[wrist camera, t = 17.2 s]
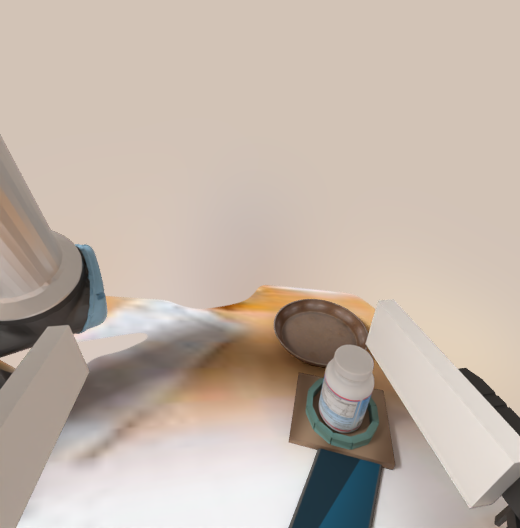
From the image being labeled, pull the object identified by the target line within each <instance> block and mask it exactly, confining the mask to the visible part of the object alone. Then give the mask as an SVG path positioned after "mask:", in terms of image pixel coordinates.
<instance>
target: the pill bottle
mask: <svg viewBox="0 0 520 528" xmlns="http://www.w3.org/2000/svg"><path fill="white" fill-rule="evenodd" d="M373 367H374V362H373V359H372V357H371V355H370V354H369V353H368V352H367V351H366V350H364V349H363V348H361V347H359V346H355V345H343V346H341V347H339V348H338V349H337V350H336V352H335V355H334V358H333V359H332V360H331V361H330V362H329V363H328V365H327V367H326V370H325V375H324V380H323V385H322V390H321V395H320V400H319V412H320V415H321V417H322V419H323V420H324V421H325V423H326V424H327V425H328V426H329V427H330V428H332V429H333V430H335V431H337V432H341V433H351V432H354V431H356V430H357V429H358V428H359V427H360V425H361V423H362V421H363V418H364V415H365V412H366V409H367V406H368V403H369V400H370V397H371V394H372V391H373V388H374V377H373V374H372V371H373Z"/></svg>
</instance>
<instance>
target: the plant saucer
mask: <svg viewBox="0 0 520 528" xmlns="http://www.w3.org/2000/svg"><path fill="white" fill-rule="evenodd" d="M274 331H275V334H276V336H277V338H278V340H279V341H280V343H281V344H282V345H283V347H284V348H285V349H286V350H287V351H288V352H289V353H291V354H292V355H293V356H295V357H296V358H298V359H299V360H301V361H303V362H305V363H308V364H311V365H314V366H319V367H327V365H328V363H329V362H330V361H331V360H332V359H333V358H334V355H335V352H336V350H337V349H338V348H339V347H341V346H343V345H355V346H359V347H361V348H363V349H364V350H367V345H366V340H367V337H368V332H367V329H366V327H365V326H364V324H363V323H362V321H361V320H360V319H359V318H358V317H357V316H356V315H355V314H353V313H352V312H350V311H349V310H348V309H346V308H344V307H342V306H340V305H338V304H335V303H332V302H329V301H324V300H318V299H303V300H298V301H294V302H291V303H289V304H287V305H285V306H284V307H283V308H281V309H280V310H279V312H278V313H277V314H276V317H275V319H274Z"/></svg>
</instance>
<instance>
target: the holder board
mask: <svg viewBox="0 0 520 528" xmlns="http://www.w3.org/2000/svg"><path fill="white" fill-rule="evenodd" d="M323 380H324V378H322V377H318V376H313V375H308V374H304V373H299V376H298V383H297V389H296V396H295V403H294V410H293V416H292V423H291V430H290V437H289V442H290V443H294V444H298V445H302V446H305V447H309V448H313V449H316V450H318V449H319V448H321V449H325V450H329V451H332V452H336V453H340V454H344V455H347V456H351V457H355V458H359V459H362V460H366V461H370V462H374V463H377V464H381V465H382V467H383V468H387V469H391V470H393V468H394V467H395V461H394V454H393V448H392V442H391V436H390V429H389V423H388V417H387V411H386V405H385V398H384V392H383V390H378V389H373V391H372V394H371V397H370V400H369V403H368V406H367V409H366V412H365V415H364V418H363V421H362V423H361V425H360V427H359V428H358V429H357V430H356V431H354V432H351V433H341V432H337V431H335V430H333V429H332V428H330V427H329V426H328V425H327V424H326V423H325V421H324V420H323V419H322V417H321V415H320V412H319V400H320V395H321V390H322V385H323Z"/></svg>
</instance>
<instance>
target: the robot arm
mask: <svg viewBox="0 0 520 528" xmlns="http://www.w3.org/2000/svg"><path fill="white" fill-rule="evenodd" d="M106 317H107V303H106V297H105V294H104V288H103V282H102V277H101V273H100V269H99V265H98V262H97V259H96V256H95V253H94V251H93V249H92V248H91V247H90V246H88V245H79V244H75V245H74V243H73V242H72V241H70V240H69V239H68V238H67V237H65V236H63V235H62V234H59V233H57V232H55V231H52V230H51V229H50V227H49V226H48V224H47V222H46V220H45V218H44V216H43V214H42V212H41V210H40V209H39V207H38V205H37V203H36V201H35V199H34V197H33V195H32V193H31V192H30V190H29V188H28V186H27V184H26V182H25V180H24V178H23V176H22V175H21V173H20V171H19V169H18V167H17V165H16V163H15V161H14V160H13V158H12V156H11V154H10V152H9V150H8V148H7V146H6V144H5V143H4V141H3V139H2V137H1V135H0V357H3V356H7V355H10V354H13V353H16V352H19V351H22V350H25V349H29V348H31V349H30V351H29V352H28V353H27V355H26V356H25V357H24V359H23V360H22V361H21V363H20V364H19V365H18V367H17V368H16V369H15V368H13V367H12V366H10V365H8V364H6V363H4V362H3V361H1V360H0V528H16V526H17V524H18V522H19V520H20V518H21V516H22V514H23V512H24V509H25V507H26V505H27V503H28V501H29V499H30V497H31V495H32V493H33V490H34V488H35V486H36V484H37V482H38V480H39V478H40V476H41V473H42V471H43V469H44V467H45V465H46V463H47V461H48V459H49V456H50V454H51V452H52V450H53V448H54V446H55V444H56V442H57V439H58V437H59V435H60V433H61V431H62V429H63V427H64V425H65V422H66V420H67V418H68V416H69V414H70V412H71V410H72V408H73V405H74V403H75V401H76V399H77V397H78V395H79V393H80V391H81V388H82V386H83V384H84V382H85V380H86V378H87V376H88V374H89V369H88V367H87V365H86V362H85V360H84V358H83V356H82V353H81V351H80V349H79V347H78V344H77V342H76V340H75V338H74V335H73V334H75V333H76V334H79V333H83V332H84V331H86V330H87V329H89V328H92V327H95V326H98V325H100V324H101V323H103V322H104V321H105V319H106ZM366 345H367V347H368V349H369V350H370V352H371V353H372V355H373V356H374V358H375V360H376V361H377V363H378V364H379V366H380V367H381V369H382V371H383V372H384V374H385V375H386V377H387V379H388V380H389V382H390V383H391V385H392V386H393V388H394V390H395V391H396V393H397V394H398V396H399V398H400V399H401V401H402V402H403V404H404V405H405V407H406V409H407V410H408V412H409V413H410V415H411V417H412V418H413V420H414V421H415V423H416V424H417V426H418V428H419V429H420V431H421V432H422V434H423V435H424V437H425V439H426V440H427V442H428V443H429V445H430V447H431V448H432V450H433V451H434V453H435V454H436V456H437V458H438V459H439V461H440V462H441V464H442V466H443V467H444V469H445V470H446V472H447V473H448V475H449V477H450V478H451V480H452V481H453V483H454V485H455V486H456V488H457V489H458V491H459V492H460V494H461V496H462V497H463V499H464V500H465V502H466V504H467V505H468V507H469V508H470V509H471V508H476V507H481V506H486V505H491V504H493V503H494V502H495V501H496V500H497V499H498V498H499V497H500V496H501V495H502V496H503V498H504V499H505V501H506V502H507V503H508V506H507V507H506V508H505V509H504V510H502V511H501V512H500V513H499V514H498V515H497V516H496V517H495V525H497V526H500V525H502V524H503V523H504V522H505V521H506V520H507V525H508V526H507V528H520V418H519V417H518V416H517V415H516V413H514V411H512V409H511V408H508V407H507V405H506V403H505V402H504V401H503V400H502V399H501V398H500V397H499V396H496V394H495V392H494V391H493V390H492V389H491V388H490V387H489V386H488V385H487V384H486V383H485V382H484V381H483V380H482V379H481V378H480V377H478V376H476V375H475V374H474V373H472V372H471V371H469V370H468V369H466V368H461V369H457V368H456V366H455V365H454V364H453V363H452V362H451V361H450V360H449V359H448V358H447V357H446V356H445V355H444V353H443V352H442V351H441V350H440V349H439V348H438V347H437V346H436V345H435V344H434V343H433V342H432V340H430V338H429V337H428V336H427V335H426V334H425V333H424V332H423V331H422V330H421V328H420V327H419V326H418V325H417V324H416V323H415V322H414V321H413V320H412V319H411V318H410V317H409V315H408V314H407V313H406V312H405V311H404V310H403V309H402V308H401V307H400V306H399V305H398V304H397V302H395V300H394V299H392V300H381V301H378V303H377V307H376V310H375V313H374V317H373V320H372V323H371V327H370V330H369V334H368V337H367V340H366Z"/></svg>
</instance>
